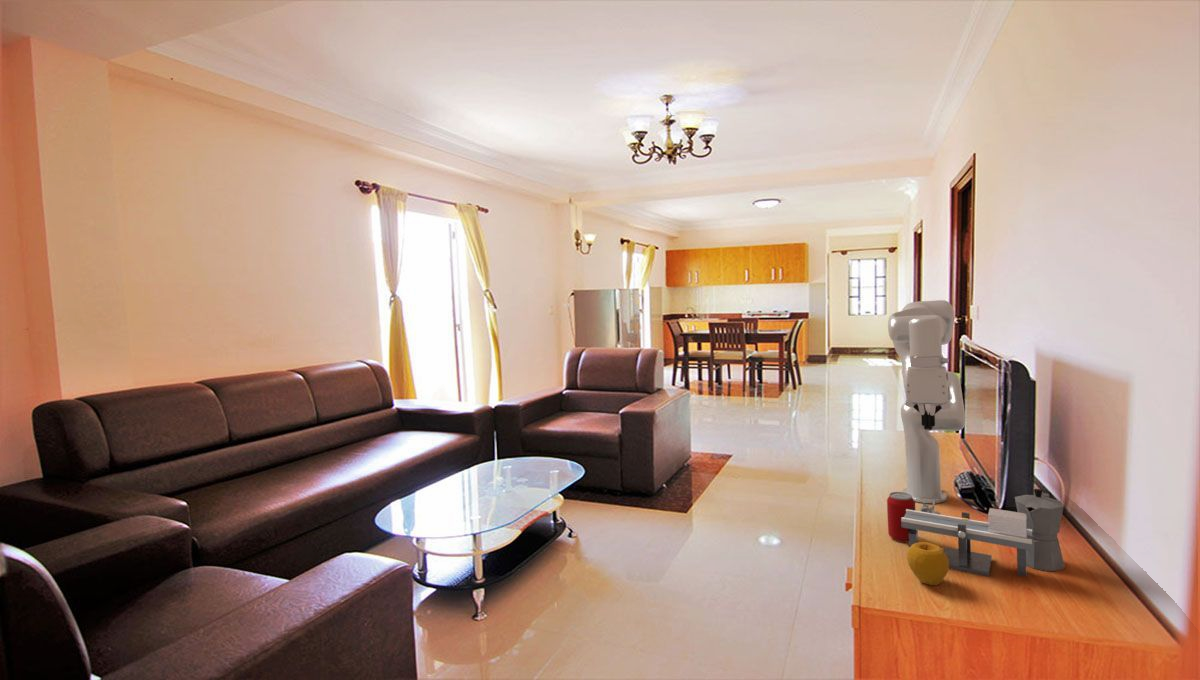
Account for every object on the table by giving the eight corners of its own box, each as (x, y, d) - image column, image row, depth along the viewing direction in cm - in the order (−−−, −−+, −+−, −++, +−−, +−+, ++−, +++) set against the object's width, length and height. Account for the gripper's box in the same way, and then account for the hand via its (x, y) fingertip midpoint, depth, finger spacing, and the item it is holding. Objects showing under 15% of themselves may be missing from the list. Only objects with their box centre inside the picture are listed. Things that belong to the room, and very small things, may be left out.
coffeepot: (1056, 579, 124) (1054, 501, 123) (1007, 565, 131) (1004, 491, 130) (1075, 556, 133) (1073, 484, 132) (1028, 545, 140) (1026, 476, 139)
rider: (990, 528, 131) (989, 508, 131) (1027, 534, 127) (1026, 513, 127) (988, 535, 128) (988, 514, 128) (1026, 541, 124) (1026, 520, 123)
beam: (906, 517, 144) (906, 508, 144) (1032, 539, 128) (1032, 528, 128) (901, 527, 139) (901, 517, 139) (1031, 550, 122) (1031, 540, 122)
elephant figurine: (951, 536, 149) (915, 519, 154) (947, 544, 153) (912, 527, 158) (963, 506, 153) (928, 490, 158) (958, 515, 157) (924, 499, 162)
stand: (914, 543, 145) (912, 503, 145) (1026, 565, 131) (1025, 520, 130) (906, 560, 137) (904, 517, 136) (1026, 585, 122) (1024, 537, 121)
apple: (901, 572, 131) (899, 536, 131) (939, 572, 130) (938, 536, 130) (915, 590, 123) (914, 552, 123) (956, 591, 122) (955, 552, 121)
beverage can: (920, 543, 145) (918, 499, 145) (893, 543, 147) (891, 499, 146) (911, 533, 152) (909, 491, 151) (885, 532, 153) (883, 491, 152)
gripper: (960, 360, 147) (962, 427, 148) (898, 360, 157) (900, 423, 158) (956, 364, 141) (959, 434, 142) (892, 363, 151) (895, 429, 152)
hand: (928, 428), depth 150 cm, fingers closed
